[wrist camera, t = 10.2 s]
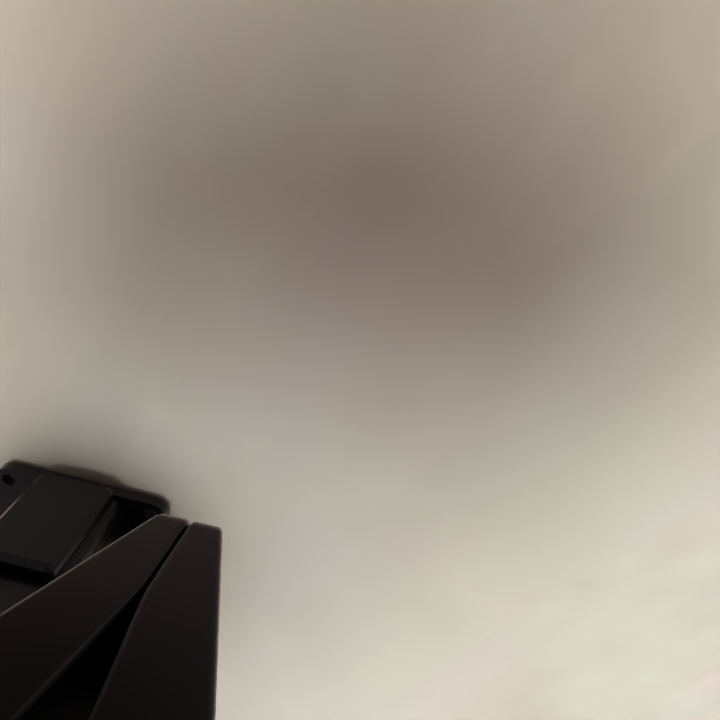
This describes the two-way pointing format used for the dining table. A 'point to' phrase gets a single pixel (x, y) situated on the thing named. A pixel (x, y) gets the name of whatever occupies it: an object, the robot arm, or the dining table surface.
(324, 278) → the dining table surface
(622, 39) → the dining table surface
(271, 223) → the dining table surface
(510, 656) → the dining table surface
